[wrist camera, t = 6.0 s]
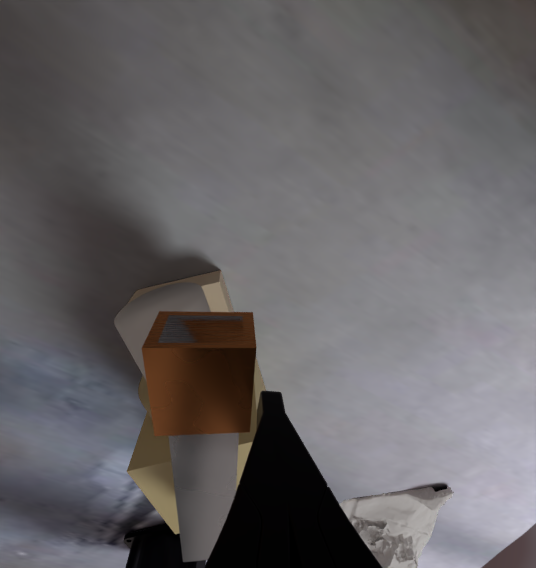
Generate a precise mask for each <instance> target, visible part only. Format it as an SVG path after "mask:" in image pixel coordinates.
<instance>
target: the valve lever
mask: <svg viewBox="0 0 536 568" xmlns="http://www.w3.org/2000/svg"><path fill="white" fill-rule="evenodd" d="M142 354H143V361H144V368H145V374H146V381H147V388H148V395H149V401H150V408H151V415H152V422H153V429H154V435H155V436H169V445H170V454H171V462H172V471H173V480H174V488H175V497H176V506H177V514H178V523H179V532H180V540H181V549H182V558H183V562H191V561H201V560H208V558H209V556H210V554H211V552H212V550H213V548H214V545H215V543H216V541H217V539H218V537H219V534H220V532H221V530H222V527H223V525H224V523H225V521H226V518H227V516H228V513H229V510H230V507H231V505H232V502H233V499H234V496H235V493H236V482H237V462H238V442H239V433H245V432H250V425H251V412H252V398H253V385H254V372H255V358H256V340H255V330H254V320H253V312H180V311H159V313H158V315H157V317H156V319H155V321H154V324H153V326H152V328H151V330H150V332H149V334H148V336H147V338H146V340H145V342H144V344H143V346H142Z"/></svg>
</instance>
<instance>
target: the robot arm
mask: <svg viewBox="0 0 536 568" xmlns="http://www.w3.org/2000/svg"><path fill="white" fill-rule="evenodd" d="M124 543H125V544H126V545H127V546H128V547H129V548H130V553H129V557H128V560H127V564H126V568H383V567H382V566H381V565H380V563H379V562H378V560H377V559H376V558H375V556H374V555H373V553H372V552H371V551H370V549H369V548H368V546H367V545H366V544H365V542H364V541H363V539H362V538H361V537H360V535H359V534H358V532H357V531H356V529H355V528H354V526H353V525H352V523H351V522H350V521H349V519H348V517H347V516H346V514H345V513H344V511H343V509H342V508H341V506H340V505H339V503H338V501H337V500H336V498H335V496H334V495H333V493H332V491H331V489H330V488H329V487H327V483H326V481H325V479H324V478H323V476H322V474H321V473H320V471H319V469H318V467H317V466H316V464H315V462H314V461H313V459H312V457H311V456H310V454H309V452H308V450H307V449H306V447H305V445H304V444H303V442H302V440H301V439H300V437H299V435H298V433H297V432H296V430H295V428H294V427H293V425H292V423H291V422H290V420H289V418H288V416H287V415H286V413H285V409H284V404H283V398H282V394H281V392H274V391H261V392H260V397H259V402H258V408H257V427H256V433H255V436H254V439H253V442H252V445H251V448H250V451H249V454H248V457H247V461H246V464H245V467H244V470H243V473H242V476H241V479H240V482H239V485H238V487H237V490H236V493H235V496H234V499H233V502H232V505H231V507H230V510H229V513H228V516H227V518H226V521H225V523H224V525H223V527H222V530H221V532H220V534H219V537H218V539H217V541H216V543H215V545H214V548H213V550H212V552H211V554H210V556H209V558H208V560H207V562H206V560H201V561H191V562H183V558H182V549H181V540H180V533H179V534H175V533H174V532H173V531H172V530H171V528H170V527H169V526H168V524H166V525H162V526H157V527H153V528H149V529H145V530H140V531H136V532H132V533H128V534H126V535H125V538H124ZM205 563H206V565H205Z"/></svg>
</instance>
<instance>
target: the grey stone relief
mask: <svg viewBox="0 0 536 568" xmlns="http://www.w3.org/2000/svg"><path fill="white" fill-rule="evenodd" d="M453 493H454V492H452V490H451V488H450V487H448V486H447V489H444V490H440V491H437V492H435V491H434V490H433V488H432V487H426V488H422V489H413V490H407V491H400V492H394V493H387V494H384V493H383V494H381V495H375V496H373V495H372V496H368V497H361V498H352V499H349V500H344V501H343V502H342V503H341V504H339V505H340V506H341V508H342V509H343V511H344V513H345V514H346V516H347V517H348V519H349V521H350V522H351V523H352V525H353V526H354V528H355V529H356V531H357V532H358V534H359V535H360V537H361V538H362V539H363V541H364V542H365V544H366V545H367V546H368V548H369V549H370V551H371V552H372V553H373V555H374V556H375V558H376V559H377V560H378V562H379V563H380V565H381V566H382V567H383V568H417V566H418V558H419V557H420V556H421V554H422V549H423V548H424V546H425V545H426V544H427V542H428V541H429V539H430V537H431V534H432V531H433V529H434V526H435V522H436V518H437V515H438V511H439V509H440V507H441V506H443V505H444V504H445V503H446V501H447V500H448V499H450V498H451V497H452V495H453ZM422 555H423V554H422Z"/></svg>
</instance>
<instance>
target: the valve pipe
mask: <svg viewBox="0 0 536 568" xmlns="http://www.w3.org/2000/svg"><path fill="white" fill-rule="evenodd" d="M159 311H180V312H234V310H233V307H232V304H231V301H230V298H229V295H228V291H227V288H226V285H225V282H224V279H223V276H222V272H221V270H219V271H215V272H211V273H206V274H202V275H198V276H194V277H189V278H185V279H181V280H177V281H173V282H168V283H164V284H160V285H156V286H151V287H147V288H143V289H139V290H137V291H136V292H135V293H134V295H133V296H132V298H131V299H130V300H129V302H128V303H127V305H126V306H124V307H123V308H122V309H121V310H120V311H119V313H118V314H117V315H116V317H115V319H114V325H115V327H116V329H117V330H118V332H119V334H120V336H121V337H122V339H123V341H124V343H125V345H126V346H127V348H128V350H129V352H130V353H131V355H132V357H133V359H134V360H135V362H136V364H137V366H138V367H139V369H140V371H141V373H142V375H143V376H142V378H141V381H140V384H139V389H138V394H139V398H140V400H141V402H142V404H143V406H144V407H145V409H146V410H147V414H146V417H145V420H144V423H143V426H142V428H141V431H140V434H139V437H138V440H137V443H136V446H135V449H134V452H133V455H132V458H131V461H130V464H129V467H128V469H127V472H128V474H129V475H130V476H131V478H132V479H133V480H134V481H135V483H136V484H137V485H138V487H139V488H140V489H141V491H142V492H143V493H144V494H145V496H146V497H147V498H148V500H149V501H150V502H151V504H152V505H153V506H154V507H155V509H156V510H157V511H158V513H159V514H160V515H161V517H162V518H163V519H164V520H165V522H166V523H167V524H168V526H169V527H170V528H171V530H172V531H173V532H174V533H175V534H179V533H180V532H179V523H178V514H177V506H176V497H175V488H174V480H173V471H172V462H171V454H170V445H169V436H155V435H154V429H153V422H152V415H151V408H150V401H149V395H148V388H147V381H146V374H145V368H144V361H143V354H142V346H143V344H144V342H145V340H146V338H147V336H148V334H149V332H150V330H151V328H152V326H153V324H154V321H155V319H156V317H157V315H158V313H159ZM261 391H266V389H265V386H264V382H263V379H262V376H261V372H260V369H259V366H258V362H257V359H256V358H255V372H254V385H253V398H252V412H251V425H250V432H245V433H239V442H238V462H237V482H236V490H237V487H238V485H239V482H240V479H241V476H242V473H243V470H244V467H245V464H246V461H247V457H248V454H249V451H250V448H251V445H252V442H253V439H254V436H255V433H256V427H257V408H258V402H259V397H260V392H261Z"/></svg>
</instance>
